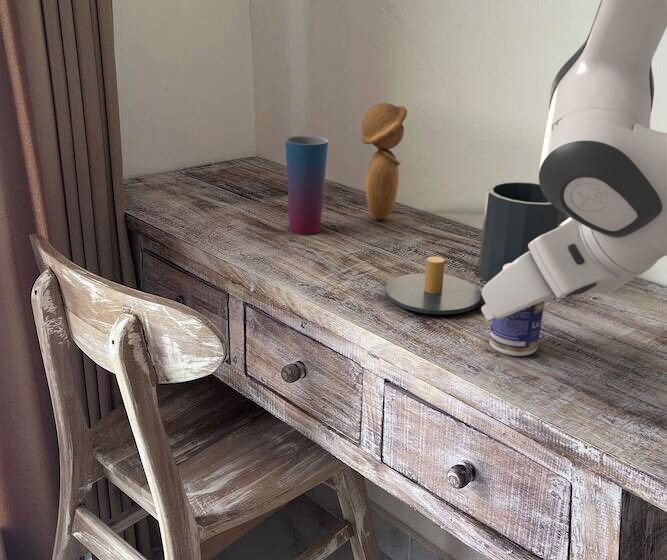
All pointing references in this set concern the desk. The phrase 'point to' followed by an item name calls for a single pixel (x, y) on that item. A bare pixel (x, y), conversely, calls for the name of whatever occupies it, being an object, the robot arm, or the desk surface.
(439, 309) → the can lid
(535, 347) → the pill bottle
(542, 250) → the robot arm
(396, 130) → the figurine
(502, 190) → the can
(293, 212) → the cup
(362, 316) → the desk surface
